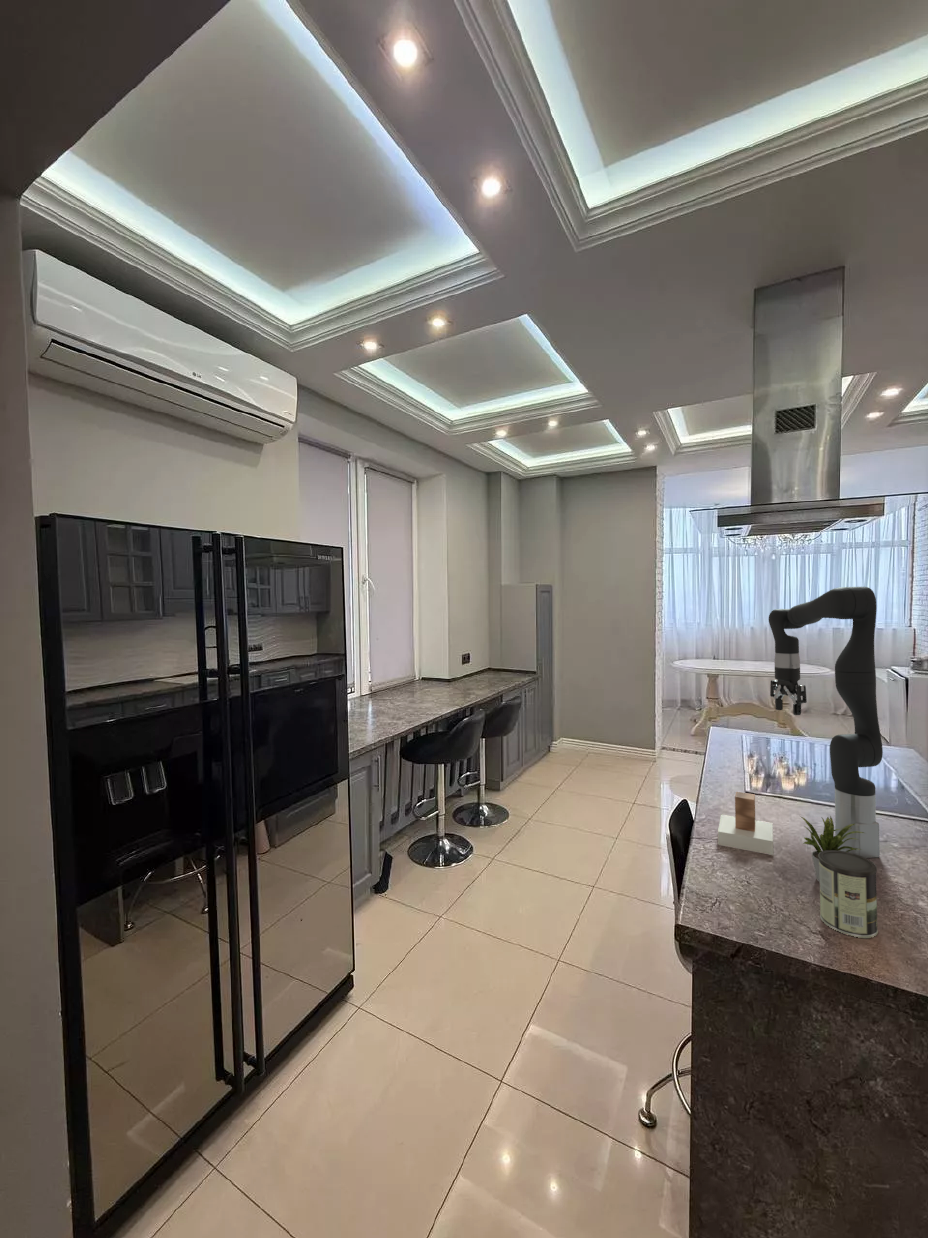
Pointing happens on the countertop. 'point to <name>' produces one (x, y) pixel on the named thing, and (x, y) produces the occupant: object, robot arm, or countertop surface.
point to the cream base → (746, 836)
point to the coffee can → (848, 893)
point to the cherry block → (745, 811)
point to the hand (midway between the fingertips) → (787, 712)
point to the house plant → (827, 840)
